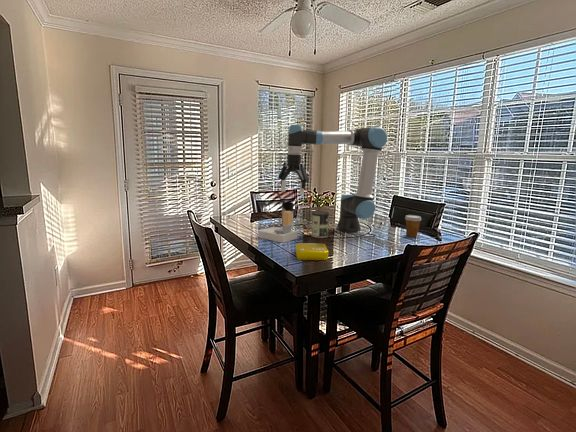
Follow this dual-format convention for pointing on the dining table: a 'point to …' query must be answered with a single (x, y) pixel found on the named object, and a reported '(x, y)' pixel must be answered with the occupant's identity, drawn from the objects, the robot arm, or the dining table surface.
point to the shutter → (284, 229)
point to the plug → (287, 218)
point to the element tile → (311, 251)
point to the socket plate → (277, 235)
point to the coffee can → (320, 224)
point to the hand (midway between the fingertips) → (292, 193)
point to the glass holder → (288, 207)
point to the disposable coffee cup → (412, 225)
